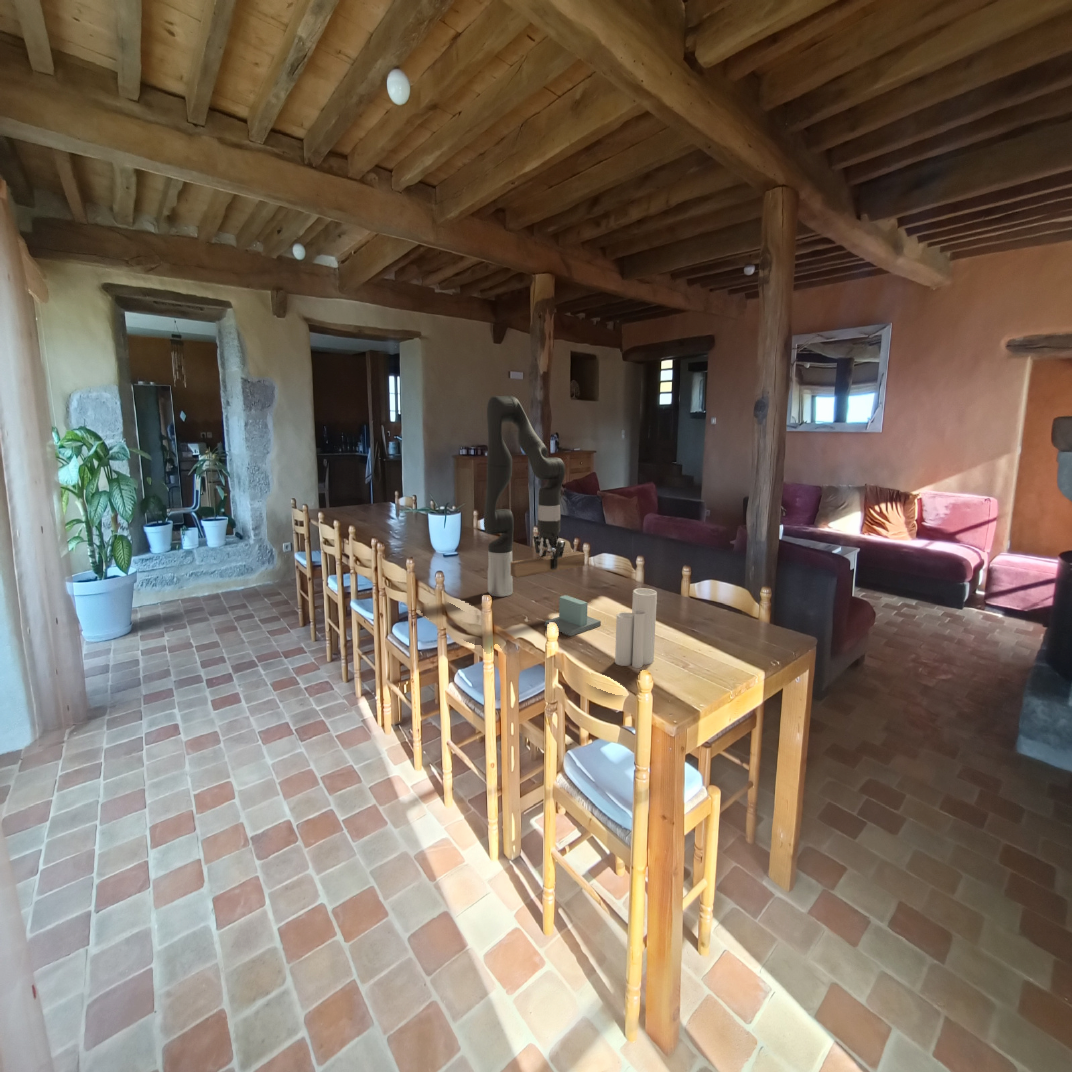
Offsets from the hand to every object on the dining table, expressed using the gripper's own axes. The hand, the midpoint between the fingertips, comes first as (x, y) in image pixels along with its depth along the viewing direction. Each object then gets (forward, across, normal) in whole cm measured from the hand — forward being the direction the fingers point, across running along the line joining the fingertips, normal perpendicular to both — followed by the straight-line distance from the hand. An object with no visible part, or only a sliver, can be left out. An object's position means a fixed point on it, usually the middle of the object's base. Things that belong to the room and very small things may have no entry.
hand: (548, 567), depth 183 cm
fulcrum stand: (+17, +12, 0) cm, 21 cm away
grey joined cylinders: (+18, +43, -6) cm, 47 cm away
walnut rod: (+1, 0, 0) cm, 1 cm away
